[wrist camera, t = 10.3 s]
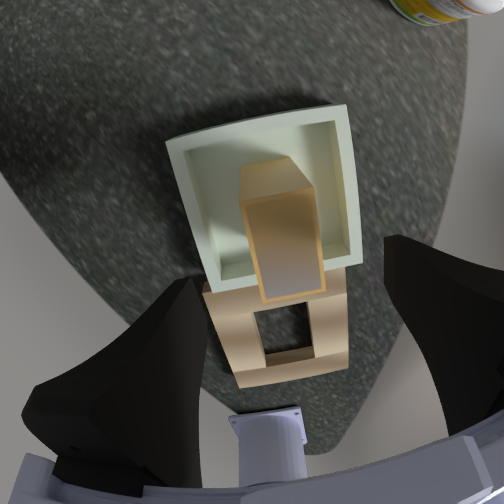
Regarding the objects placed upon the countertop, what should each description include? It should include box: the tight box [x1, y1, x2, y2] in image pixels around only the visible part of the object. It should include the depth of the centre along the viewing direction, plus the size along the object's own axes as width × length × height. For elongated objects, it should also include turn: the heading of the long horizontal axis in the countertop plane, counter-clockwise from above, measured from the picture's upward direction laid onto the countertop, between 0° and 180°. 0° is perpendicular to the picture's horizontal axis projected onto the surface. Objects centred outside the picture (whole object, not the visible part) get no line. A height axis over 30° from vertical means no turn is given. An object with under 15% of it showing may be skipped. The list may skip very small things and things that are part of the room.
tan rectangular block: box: [239, 157, 326, 303], centre depth 16 cm, size 5×3×7 cm, turn 12°
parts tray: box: [165, 104, 363, 293], centre depth 19 cm, size 10×10×2 cm
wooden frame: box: [202, 267, 348, 388], centre depth 24 cm, size 11×10×2 cm
